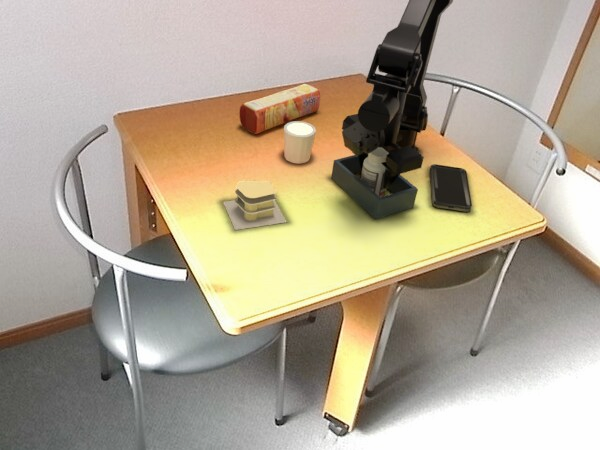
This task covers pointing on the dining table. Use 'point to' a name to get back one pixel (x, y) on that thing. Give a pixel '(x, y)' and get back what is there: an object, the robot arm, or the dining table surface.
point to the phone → (450, 188)
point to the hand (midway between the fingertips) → (374, 178)
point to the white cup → (298, 141)
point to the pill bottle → (374, 171)
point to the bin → (365, 196)
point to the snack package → (279, 108)
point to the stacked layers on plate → (254, 205)
